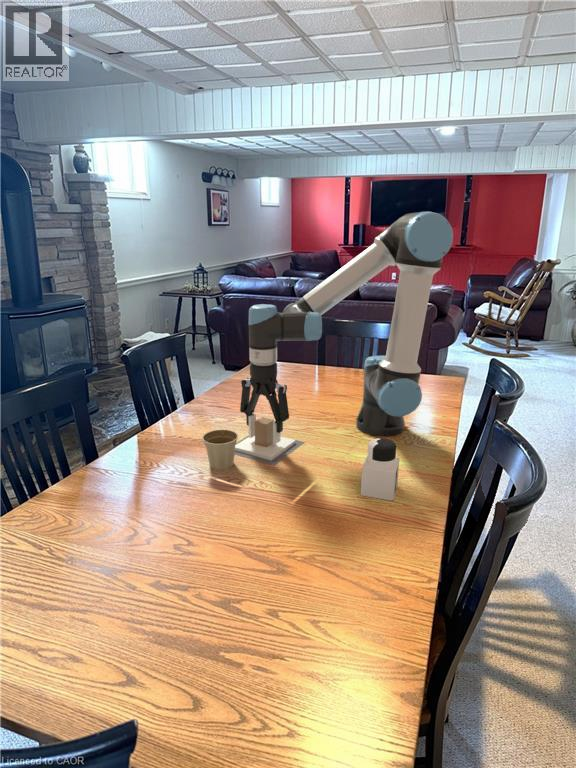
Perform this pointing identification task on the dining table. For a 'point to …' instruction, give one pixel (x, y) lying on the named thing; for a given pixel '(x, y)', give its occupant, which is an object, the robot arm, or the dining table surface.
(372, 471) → the container
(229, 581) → the dining table surface
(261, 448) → the lid
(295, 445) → the mat
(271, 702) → the dining table surface
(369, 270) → the robot arm
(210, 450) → the flower pot
